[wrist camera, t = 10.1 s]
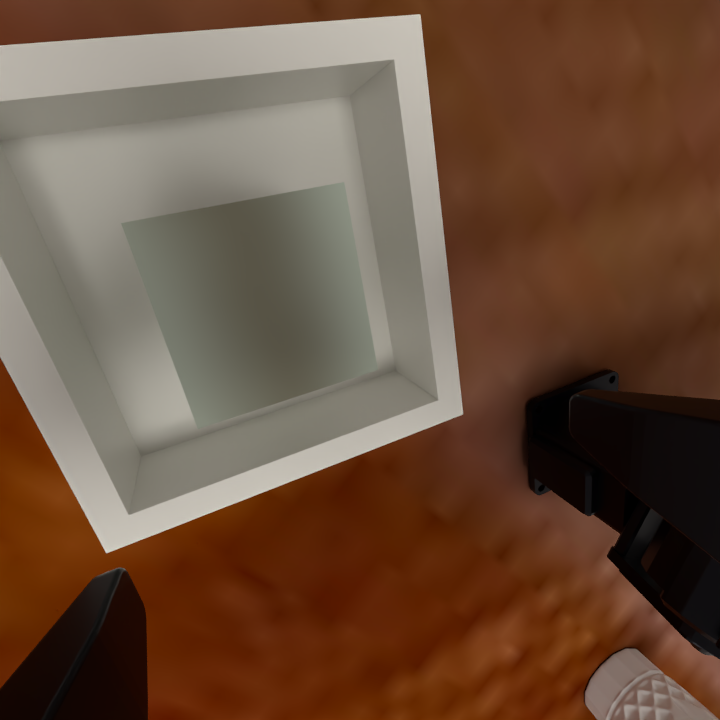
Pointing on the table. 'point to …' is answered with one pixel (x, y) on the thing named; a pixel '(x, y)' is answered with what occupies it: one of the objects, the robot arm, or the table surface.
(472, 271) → the table surface
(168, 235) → the mint block
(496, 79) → the table surface
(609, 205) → the table surface
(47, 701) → the robot arm
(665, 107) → the table surface
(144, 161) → the bin
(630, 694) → the white cup
